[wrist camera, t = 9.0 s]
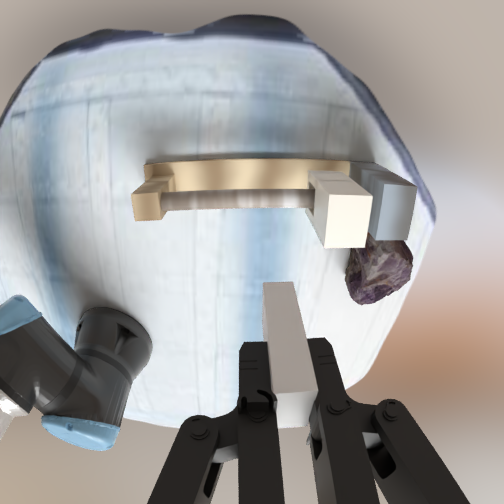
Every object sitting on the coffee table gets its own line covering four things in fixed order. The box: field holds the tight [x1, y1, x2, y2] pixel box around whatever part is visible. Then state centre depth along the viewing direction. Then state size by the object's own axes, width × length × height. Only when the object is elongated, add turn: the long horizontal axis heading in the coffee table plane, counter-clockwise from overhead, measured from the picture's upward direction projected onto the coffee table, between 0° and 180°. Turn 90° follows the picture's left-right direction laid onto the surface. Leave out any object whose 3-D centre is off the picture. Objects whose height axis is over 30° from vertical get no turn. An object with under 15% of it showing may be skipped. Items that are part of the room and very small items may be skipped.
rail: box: [131, 158, 417, 240], centre depth 31 cm, size 30×6×11 cm, turn 91°
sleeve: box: [306, 170, 373, 248], centre depth 28 cm, size 4×5×9 cm
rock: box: [345, 232, 413, 305], centre depth 38 cm, size 12×9×10 cm
